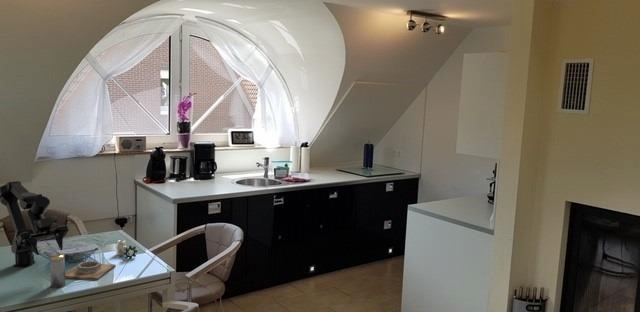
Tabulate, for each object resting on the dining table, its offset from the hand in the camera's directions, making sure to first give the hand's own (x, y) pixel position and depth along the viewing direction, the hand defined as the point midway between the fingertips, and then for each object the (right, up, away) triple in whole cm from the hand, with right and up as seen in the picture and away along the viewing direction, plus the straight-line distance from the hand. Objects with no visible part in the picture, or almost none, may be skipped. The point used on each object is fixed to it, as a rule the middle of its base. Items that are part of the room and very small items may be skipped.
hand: (50, 252), depth 207 cm
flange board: (+10, -11, +13) cm, 20 cm away
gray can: (+5, -13, -2) cm, 14 cm away
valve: (+17, -9, +35) cm, 40 cm away
